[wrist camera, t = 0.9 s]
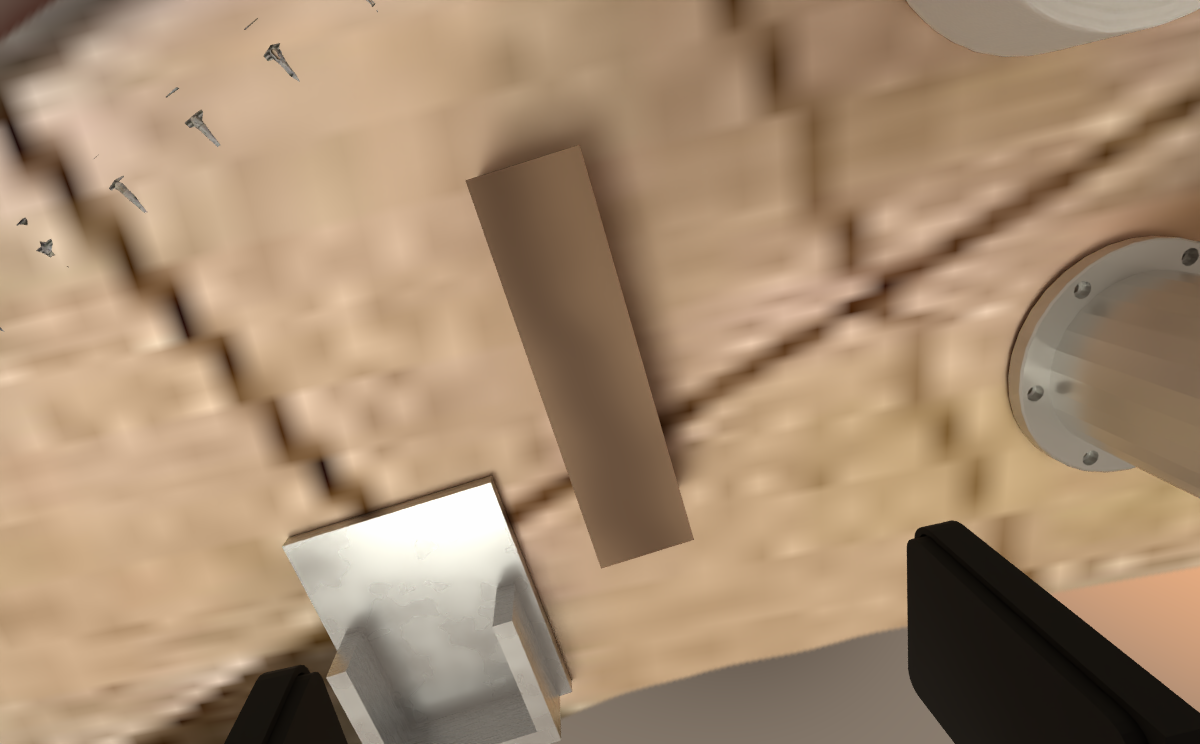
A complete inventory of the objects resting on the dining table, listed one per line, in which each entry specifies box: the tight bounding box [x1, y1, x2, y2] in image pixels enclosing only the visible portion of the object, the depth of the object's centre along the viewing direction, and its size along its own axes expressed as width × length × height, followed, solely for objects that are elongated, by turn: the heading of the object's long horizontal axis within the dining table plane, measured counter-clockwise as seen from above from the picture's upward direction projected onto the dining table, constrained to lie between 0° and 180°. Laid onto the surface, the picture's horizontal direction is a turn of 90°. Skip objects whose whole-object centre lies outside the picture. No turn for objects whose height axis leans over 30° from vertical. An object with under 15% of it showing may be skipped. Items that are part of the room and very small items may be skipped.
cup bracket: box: [282, 476, 572, 744], centre depth 33 cm, size 11×14×4 cm
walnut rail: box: [466, 145, 694, 568], centre depth 29 cm, size 4×18×5 cm, turn 17°
